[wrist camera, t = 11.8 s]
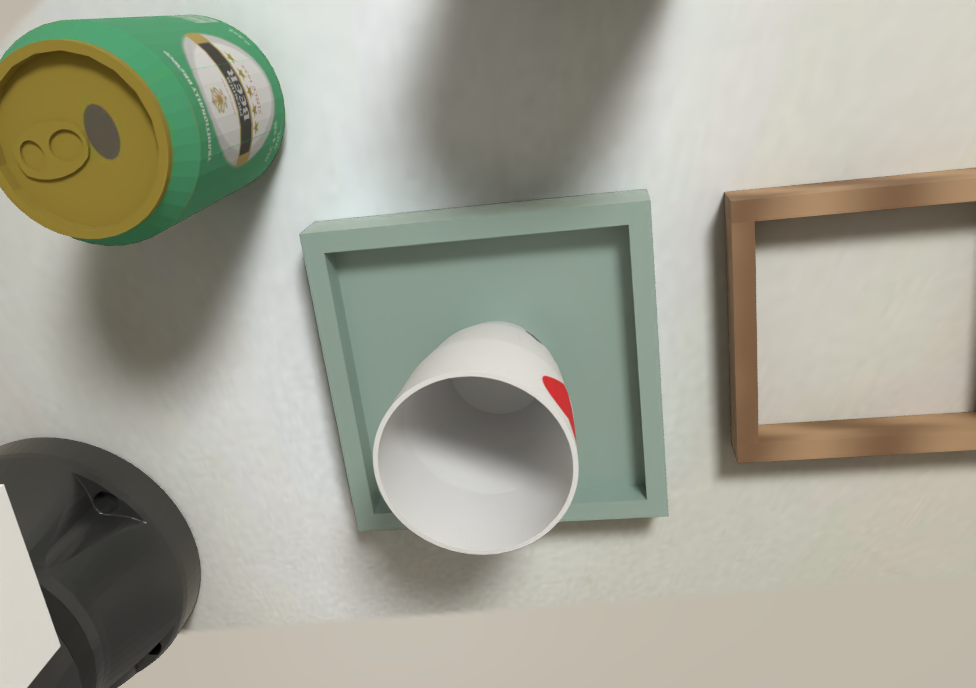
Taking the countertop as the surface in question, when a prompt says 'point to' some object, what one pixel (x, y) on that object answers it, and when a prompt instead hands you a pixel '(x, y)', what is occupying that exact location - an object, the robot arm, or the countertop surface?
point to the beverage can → (133, 122)
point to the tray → (509, 298)
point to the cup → (480, 443)
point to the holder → (742, 325)
